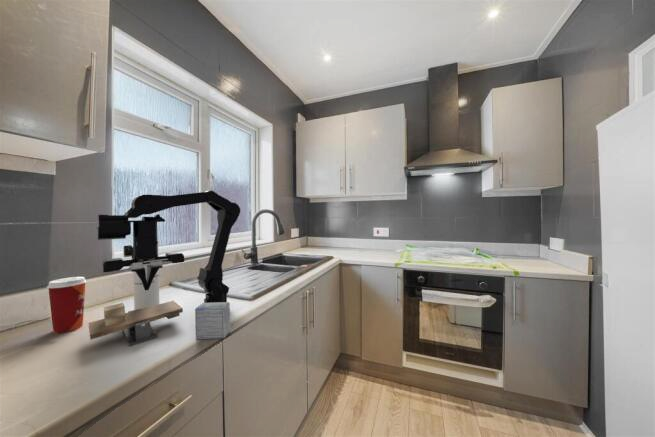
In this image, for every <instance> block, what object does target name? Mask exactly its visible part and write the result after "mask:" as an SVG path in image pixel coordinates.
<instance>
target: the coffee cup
mask: <svg viewBox="0 0 655 437" xmlns="http://www.w3.org/2000/svg"><path fill="white" fill-rule="evenodd" d="M86 283H87V280H86V277H84V276H70V277H64V278H58V279H54V280H50V281H49V282H48V285H47V286H46V289H48V296H49V306H50V315H51V322H52V330H53V331H52V332H53V333H54V334H63V333H68V332H72V331H75V330H78V329H80V328H82V327H83V324H84V315H85V314H84V312H85V297H86V294H85V293H86Z"/></svg>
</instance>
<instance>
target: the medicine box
mask: <svg viewBox="0 0 655 437" xmlns="http://www.w3.org/2000/svg"><path fill="white" fill-rule="evenodd" d="M230 307H231V306H230V302H228V301H227V302H215V303H204V302H202V303H201V304H200V305H198V306H197V307H196V308H194V317H195V318H194V320H195V325H194V326H195V340H206V339H207V340H211V339H212V340H213V339H225V338H226V337H227V336H228V334H229V332H231V314H230V312H231V310H230Z"/></svg>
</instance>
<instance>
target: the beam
mask: <svg viewBox="0 0 655 437" xmlns="http://www.w3.org/2000/svg"><path fill="white" fill-rule="evenodd" d="M131 311H132V310H131ZM183 311H184V310H183V307H181V306H180V305H179V304H178V303H177V302H175V301H174V300H171V301H166V302H164V303H159V304H158V305H155V306H151V307H147V308H143V309H139V310H136V311H132V312H125V321H123V322H119V323H115V324H112V325H108V326H105V319H104V318H102V319H97V320H94V321H91V322H88V332H89V338H90V341H91V340H94V339H98V338H101V337H104V336H107V335H111V334H114V333H117V332H118V333H119V332H121V331H123V330H125V329H128V328H131V327H135V324H136V323H140V322H144V321H148V320H149V321H150V323H151V322H154V321H158V320H161V319H165V318H167V319H168V320H171V319H173V318H177V317H179V316H180V314H181V313H183Z"/></svg>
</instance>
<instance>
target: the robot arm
mask: <svg viewBox="0 0 655 437" xmlns="http://www.w3.org/2000/svg"><path fill="white" fill-rule="evenodd" d="M203 203H206V204H208V205H209V207H211V208H212V209H213V210H214V211H216V212H217V215H216V219H217V229H216V233H215V237H214V240H213V243H212V247H211V249H210V250H211V251H210V254H209V258H208V262H207V264H206V266H205V267H204V268H203V267H200V268H199V274H198V276H197V277H196V279H197V280H198V281H197V282H198V286H199V287H200V288H201V289H203V290H204V292H205V298H204V299H203V303H215V302H228V294H229V290H230V287H229V286H228V285H226V284H225V283H224V282H223V277H224V272H223V263H224V258H225V255H226V250H227V247H228V242H229V239H230V235H231V231H232V227H233V226H234V225H235V223H236V222H237V221H238V219H239V216H240V214H241V207H240V206H239V204H238V203H237V202H232V201H230V200H229V199H227V198H226V197H223V196H221V195H219V193H217V192H216V191H214V190H206V191H201V192H195V193H194V192H193V193H183V194H175V195H163V194H161V195H160V194H142V195H139V196H136V197H134V198H133V200H132V201H131V204H130V208H129V209H128V210H127V211H126V212H125V213H124V214H121V215H117V214H116V215H115V214H114V215H110V214H98V215H97V226H96V238H97V239H96V240H97V241H103V240H104V241H106V240H107V241H108V240H122V239H126V237H127V236H130V235H131V233H132V237H133V238H132V245H130V244H129V245H123V257H124V258H131V259H124V260H123V258H121V257H116V258H115V257H114V258H105V259H103V260H102V261H101V271H102V273H111V272H119V271H121V270H122V269H123V268H125V267H128V269H129V270H130V272H131V273H134V272H136V273H137V275H138V277H139V278H140V281H141V283H142V285H143V288H144V290H145V291H146V290H149V288H150V285H151V283H152V281H153V278H154V276H155V275H156V273H157V271H158V270H159V271H160V269H162V268H163V267H164V266H163V265H162V264H163V262H170V263H172V264H178V263H179V264H180V263H184V262H185V255H184V254H183V253H182V252H178V251H175V252H167V253H166V252H165V255H161V256H160V255H159V257H158V252H159V238H158V223H160V222H161V223H162V222H163V223H164V222H166V219H165V218H163V217H162V216H161V215H160V214H159V213H158V212H163V211H164V210H168V209H171V208H175V207H182V206H189V205H196V204H203ZM155 213H157V214H156V215H154V216H145V215H152V214H155ZM143 215H144V216H143ZM141 216H142V217H141ZM138 217H141V220H135V218H138ZM129 219H134V220H129ZM131 223H132V224H131ZM143 264H149V265H147V280H146V273H145V268H143Z"/></svg>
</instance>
